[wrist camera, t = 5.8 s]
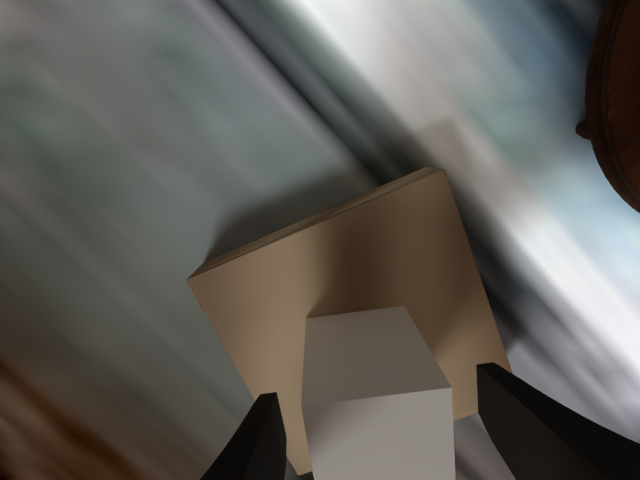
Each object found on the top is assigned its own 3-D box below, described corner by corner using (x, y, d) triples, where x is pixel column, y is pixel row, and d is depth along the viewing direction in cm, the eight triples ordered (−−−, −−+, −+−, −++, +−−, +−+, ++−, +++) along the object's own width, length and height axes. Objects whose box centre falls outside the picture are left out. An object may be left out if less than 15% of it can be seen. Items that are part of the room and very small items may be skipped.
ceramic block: (404, 305, 15) (451, 387, 10) (410, 390, 16) (456, 503, 11) (305, 318, 15) (301, 406, 10) (318, 401, 17) (321, 519, 11)
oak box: (422, 166, 17) (444, 169, 14) (490, 361, 20) (520, 397, 17) (207, 259, 18) (186, 279, 15) (301, 430, 21) (298, 475, 18)
